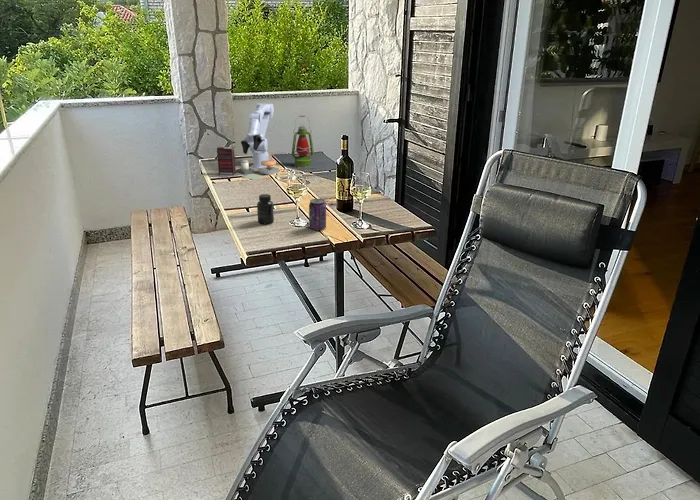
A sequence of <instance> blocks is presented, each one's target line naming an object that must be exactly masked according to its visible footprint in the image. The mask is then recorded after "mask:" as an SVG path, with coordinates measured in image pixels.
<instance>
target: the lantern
mask: <svg viewBox="0 0 700 500" xmlns="http://www.w3.org/2000/svg"><path fill="white" fill-rule="evenodd" d="M298 118H307V119H308V123H309V124H308V127H307V126H304V125H303V124H300V126H298V127H297V125H296V124H297V123H296V122H297V120H298ZM310 121H311V120H310V118H309V117H308V116H306V115H298V116H297V117H296V118H295V120H294V125H295V126H294V129H293V139H292V146H291V158H292V159H294V165H295V166H298V167H305V166H310V165H312V158H314V156H315V151H314V143H313V138H312V137H313V136H312V129H311V124H310ZM296 127H297V128H298V131H296ZM307 128H309V130H310V131H308V129H307ZM295 131H296V132H295ZM297 135H299V136H298V139H297ZM307 135H308V137H307ZM308 139H309V142H308ZM296 141H297V142H296ZM295 153H296V154H298V156H295ZM309 153H310V155H308V154H309ZM295 166H294V167H295Z"/></svg>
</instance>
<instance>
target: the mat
mask: <svg viewBox="0 0 700 500" xmlns="http://www.w3.org/2000/svg"><path fill="white" fill-rule="evenodd" d="M263 177H265V176H264V175H263V174H255V173H251V174H247V175H242V176H241V178H243V179H247V180H248V179H249V180H252V181H253V180H256V179H261V178H263Z"/></svg>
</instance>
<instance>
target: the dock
mask: <svg viewBox="0 0 700 500" xmlns="http://www.w3.org/2000/svg"><path fill="white" fill-rule="evenodd" d="M255 173H259V170H258V171H257V170H255V168H252V167H251V168H250V167H249V170H248V171H242V170H241V167H240V168H238V169H237V168H236V174H238V175H242V176H246V175H249V174H255Z"/></svg>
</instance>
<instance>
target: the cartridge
mask: <svg viewBox="0 0 700 500" xmlns="http://www.w3.org/2000/svg"><path fill="white" fill-rule="evenodd" d="M249 164H250V162H249V160H248V159H243V160H240V168H241V170H242V171H248V170H249V168H250V166H249Z"/></svg>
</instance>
